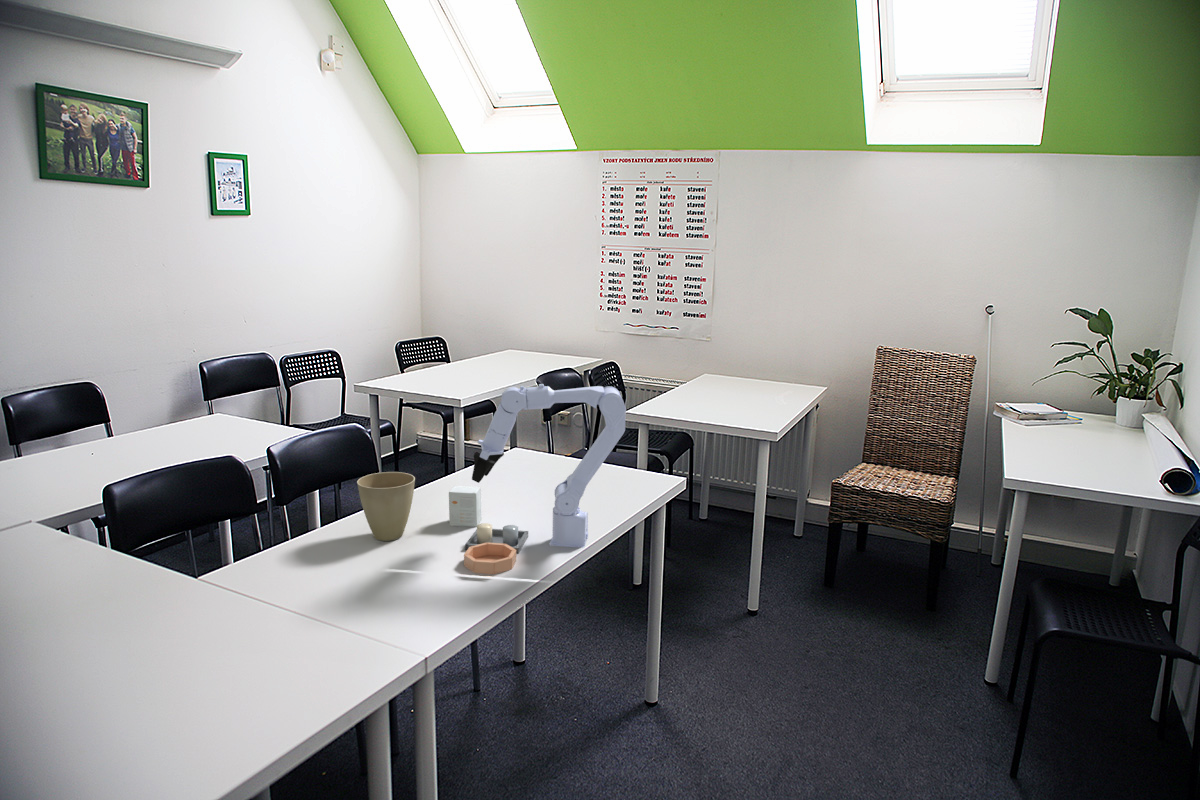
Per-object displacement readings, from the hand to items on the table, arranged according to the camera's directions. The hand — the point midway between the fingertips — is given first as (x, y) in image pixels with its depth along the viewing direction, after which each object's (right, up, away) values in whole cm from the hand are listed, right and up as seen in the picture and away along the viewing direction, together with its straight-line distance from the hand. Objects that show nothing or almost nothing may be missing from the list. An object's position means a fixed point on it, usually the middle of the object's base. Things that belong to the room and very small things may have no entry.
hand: (479, 477), depth 204 cm
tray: (+4, -18, +2) cm, 19 cm away
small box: (-6, -15, +16) cm, 23 cm away
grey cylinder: (+8, -18, +2) cm, 19 cm away
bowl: (+4, -21, -10) cm, 24 cm away
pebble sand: (+1, -17, +3) cm, 18 cm away
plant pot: (-26, -17, +7) cm, 31 cm away
